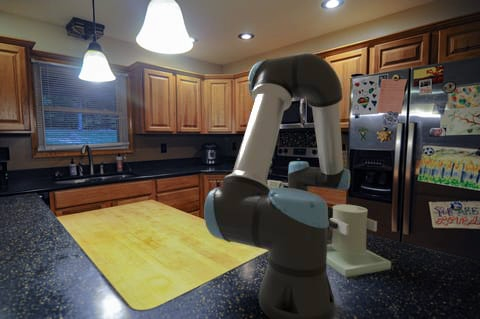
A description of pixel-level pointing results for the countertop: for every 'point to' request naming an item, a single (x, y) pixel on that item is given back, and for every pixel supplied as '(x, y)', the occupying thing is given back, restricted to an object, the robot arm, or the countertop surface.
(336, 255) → the tray
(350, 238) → the can
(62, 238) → the countertop surface
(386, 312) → the countertop surface
